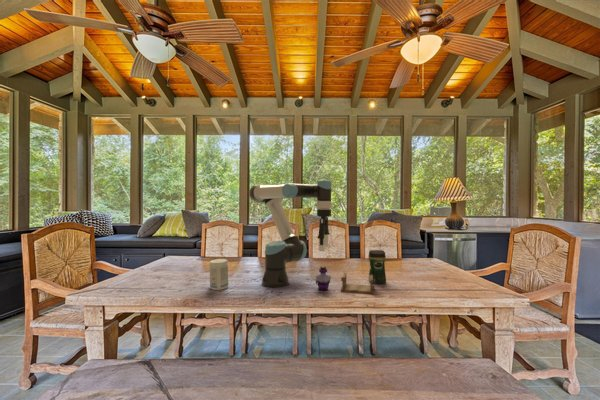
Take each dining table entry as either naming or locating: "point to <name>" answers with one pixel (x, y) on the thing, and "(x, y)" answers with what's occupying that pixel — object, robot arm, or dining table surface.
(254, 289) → the dining table surface
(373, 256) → the coffee jar
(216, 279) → the supplement tub
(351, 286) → the holder
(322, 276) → the potion bottle
